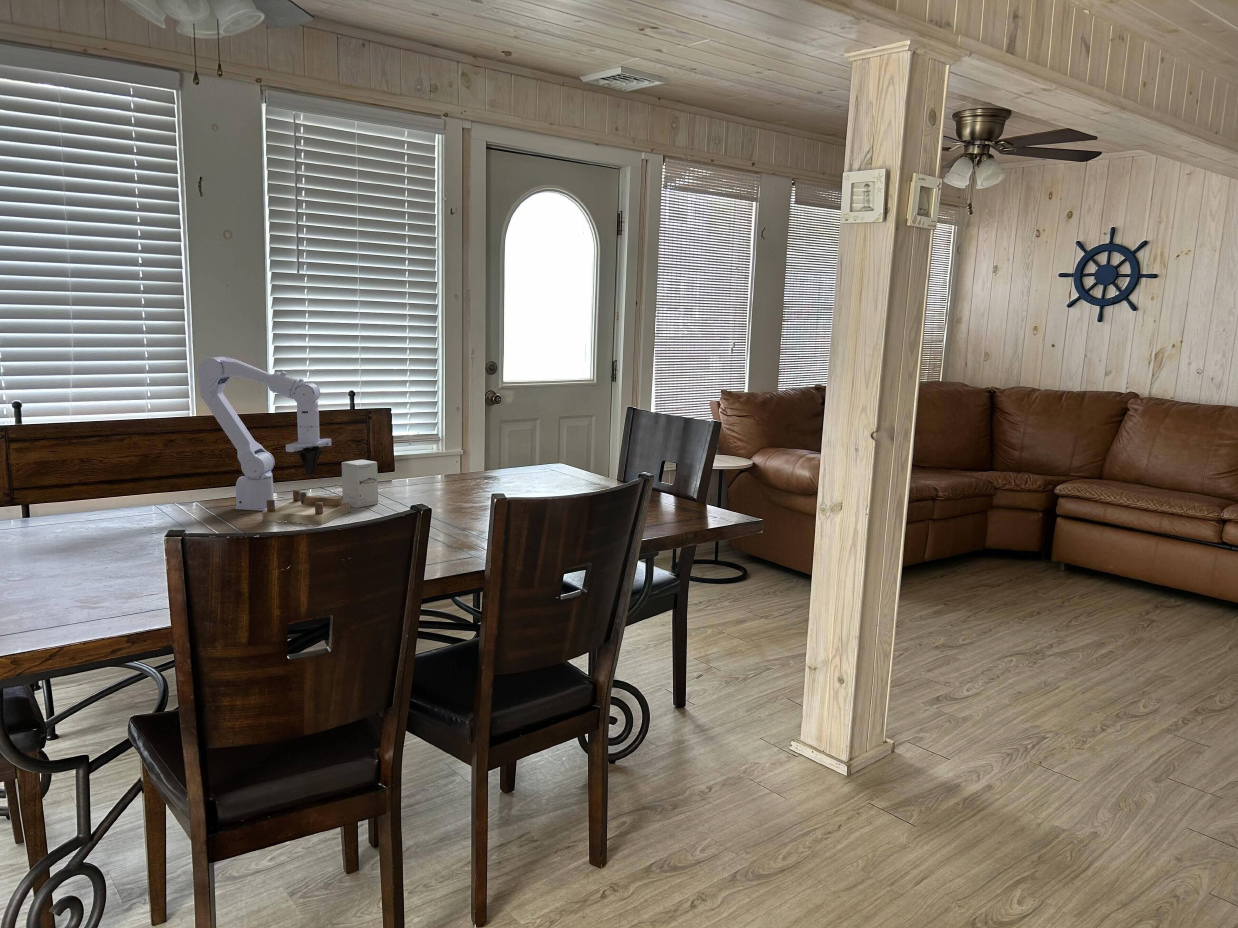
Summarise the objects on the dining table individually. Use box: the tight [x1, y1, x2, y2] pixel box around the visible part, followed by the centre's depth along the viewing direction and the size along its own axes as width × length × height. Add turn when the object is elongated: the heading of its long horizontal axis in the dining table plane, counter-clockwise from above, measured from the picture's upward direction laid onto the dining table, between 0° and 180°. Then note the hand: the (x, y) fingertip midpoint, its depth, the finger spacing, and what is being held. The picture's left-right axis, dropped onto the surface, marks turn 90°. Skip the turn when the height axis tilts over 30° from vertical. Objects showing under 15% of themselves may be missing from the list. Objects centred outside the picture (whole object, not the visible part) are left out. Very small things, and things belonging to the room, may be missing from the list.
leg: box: [300, 491, 342, 506], centre depth 250 cm, size 11×2×3 cm, turn 82°
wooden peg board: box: [261, 489, 351, 526], centre depth 248 cm, size 17×16×6 cm
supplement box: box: [341, 459, 379, 509], centre depth 262 cm, size 7×7×13 cm
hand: (310, 473), depth 256 cm, fingers closed
